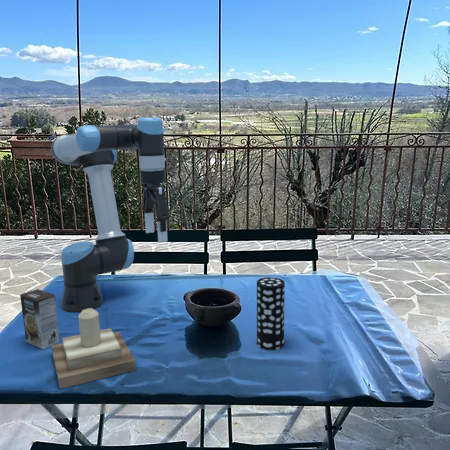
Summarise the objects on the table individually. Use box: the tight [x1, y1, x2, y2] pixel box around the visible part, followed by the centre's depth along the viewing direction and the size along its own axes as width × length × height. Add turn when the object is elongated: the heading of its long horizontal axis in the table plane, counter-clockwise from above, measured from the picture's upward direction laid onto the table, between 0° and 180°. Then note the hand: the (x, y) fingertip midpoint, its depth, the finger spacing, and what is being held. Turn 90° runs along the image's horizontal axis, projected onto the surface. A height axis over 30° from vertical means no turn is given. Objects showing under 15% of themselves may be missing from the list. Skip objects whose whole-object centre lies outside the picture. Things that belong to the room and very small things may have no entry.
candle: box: [77, 308, 101, 347], centre depth 127 cm, size 6×6×10 cm
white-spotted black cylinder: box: [256, 276, 286, 351], centre depth 136 cm, size 8×8×20 cm
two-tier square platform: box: [51, 328, 137, 390], centre depth 129 cm, size 20×20×6 cm
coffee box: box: [19, 288, 60, 350], centre depth 141 cm, size 9×6×16 cm
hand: (156, 237), depth 142 cm, fingers open, 13 cm apart
